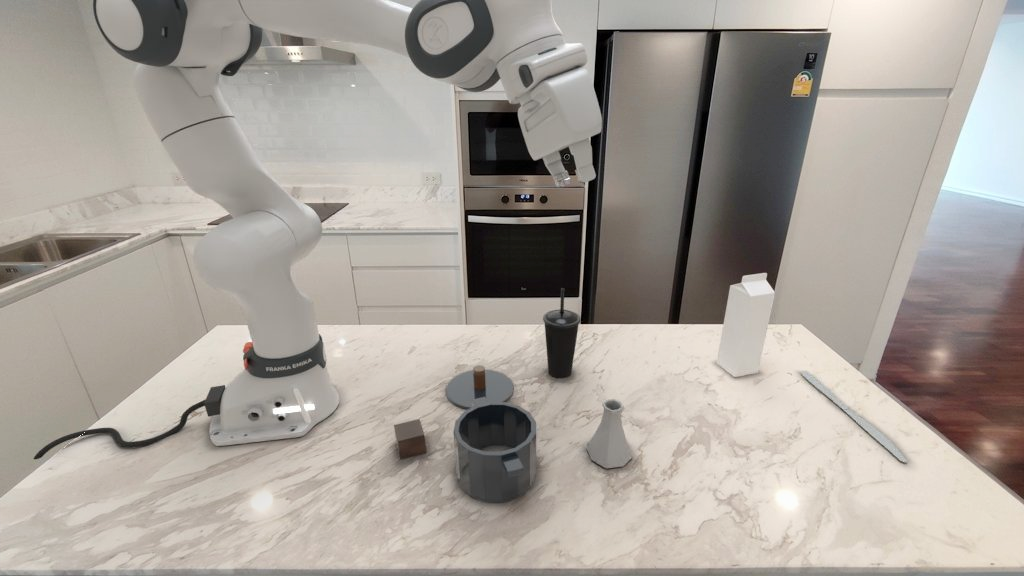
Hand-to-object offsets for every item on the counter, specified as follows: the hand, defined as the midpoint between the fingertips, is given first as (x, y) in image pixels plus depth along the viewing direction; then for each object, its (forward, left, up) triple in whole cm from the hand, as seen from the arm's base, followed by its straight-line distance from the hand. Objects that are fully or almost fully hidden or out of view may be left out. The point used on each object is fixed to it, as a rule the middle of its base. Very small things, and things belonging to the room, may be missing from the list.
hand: (575, 183), depth 62 cm
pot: (-11, +2, -46) cm, 47 cm away
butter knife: (+55, -8, -46) cm, 72 cm away
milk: (+48, +12, -46) cm, 67 cm away
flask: (+8, -1, -46) cm, 46 cm away
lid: (-7, +24, -45) cm, 51 cm away
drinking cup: (+11, +24, -46) cm, 53 cm away
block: (-23, +12, -46) cm, 53 cm away
